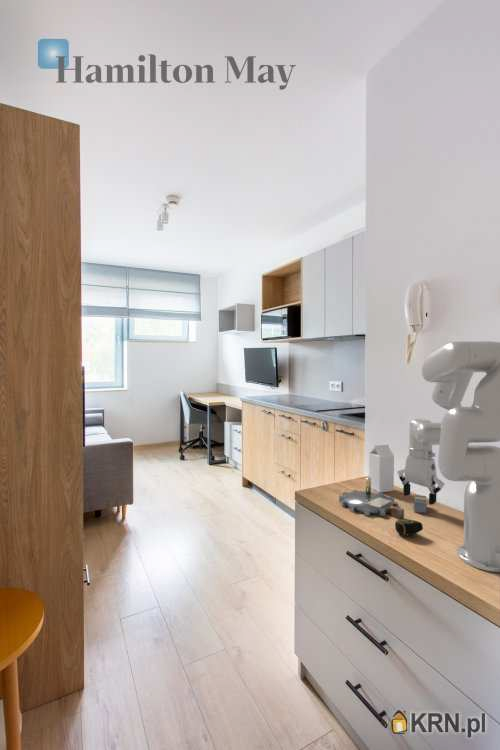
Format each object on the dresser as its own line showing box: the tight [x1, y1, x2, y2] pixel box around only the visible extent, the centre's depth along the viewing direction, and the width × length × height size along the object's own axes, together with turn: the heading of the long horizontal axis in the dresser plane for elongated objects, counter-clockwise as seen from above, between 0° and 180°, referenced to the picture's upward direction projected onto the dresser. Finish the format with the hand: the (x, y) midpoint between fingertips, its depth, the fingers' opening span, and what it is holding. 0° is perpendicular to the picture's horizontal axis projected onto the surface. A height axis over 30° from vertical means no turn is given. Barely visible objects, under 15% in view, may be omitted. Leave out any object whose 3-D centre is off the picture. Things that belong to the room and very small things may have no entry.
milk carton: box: [368, 443, 395, 493], centre depth 152 cm, size 7×7×19 cm
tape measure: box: [394, 518, 424, 536], centre depth 111 cm, size 7×7×4 cm
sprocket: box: [338, 476, 399, 517], centre depth 134 cm, size 21×21×8 cm
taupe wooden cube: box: [391, 506, 405, 520], centre depth 124 cm, size 3×2×3 cm
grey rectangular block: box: [413, 494, 428, 515], centre depth 131 cm, size 4×8×4 cm, turn 155°
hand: (419, 499), depth 132 cm, fingers open, 9 cm apart
